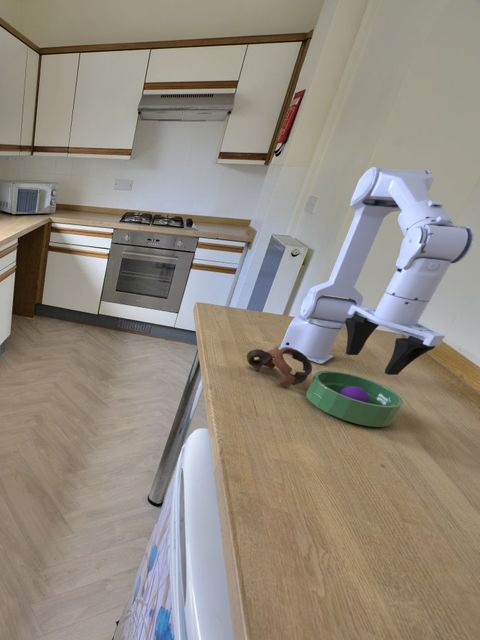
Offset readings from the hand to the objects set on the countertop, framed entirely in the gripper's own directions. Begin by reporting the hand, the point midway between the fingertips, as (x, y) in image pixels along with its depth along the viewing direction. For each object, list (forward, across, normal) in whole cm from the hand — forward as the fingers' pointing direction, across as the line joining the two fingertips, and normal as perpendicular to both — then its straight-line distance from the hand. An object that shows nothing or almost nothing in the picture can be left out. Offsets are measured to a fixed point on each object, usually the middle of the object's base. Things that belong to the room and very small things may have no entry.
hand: (370, 363), depth 78 cm
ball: (+7, 0, 0) cm, 7 cm away
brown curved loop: (+10, +13, +6) cm, 18 cm away
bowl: (+10, 0, 0) cm, 10 cm away
